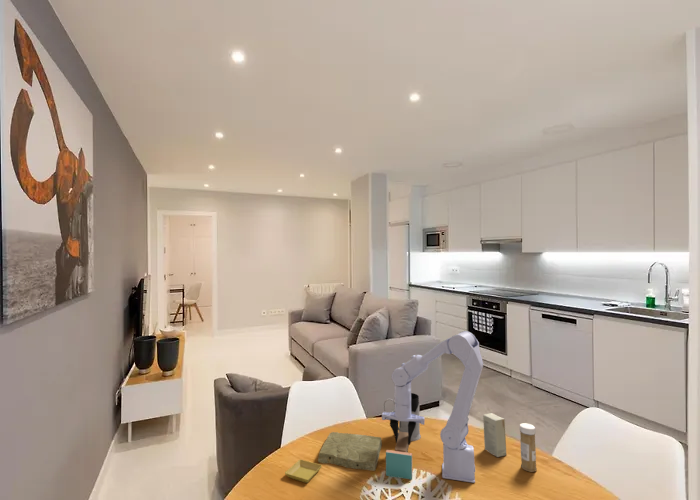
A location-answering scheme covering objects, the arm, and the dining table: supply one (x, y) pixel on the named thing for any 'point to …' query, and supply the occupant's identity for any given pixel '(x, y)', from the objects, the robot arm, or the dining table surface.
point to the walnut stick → (402, 442)
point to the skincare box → (494, 434)
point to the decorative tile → (351, 450)
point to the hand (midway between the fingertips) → (403, 442)
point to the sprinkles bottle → (528, 447)
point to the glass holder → (414, 410)
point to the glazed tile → (399, 464)
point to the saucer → (303, 470)
